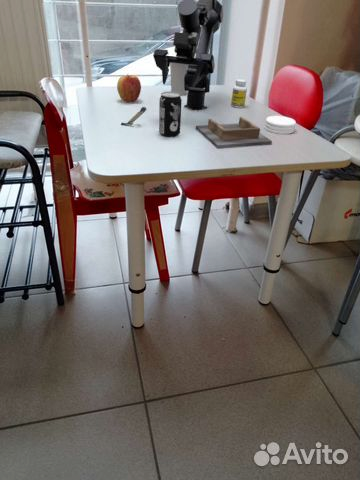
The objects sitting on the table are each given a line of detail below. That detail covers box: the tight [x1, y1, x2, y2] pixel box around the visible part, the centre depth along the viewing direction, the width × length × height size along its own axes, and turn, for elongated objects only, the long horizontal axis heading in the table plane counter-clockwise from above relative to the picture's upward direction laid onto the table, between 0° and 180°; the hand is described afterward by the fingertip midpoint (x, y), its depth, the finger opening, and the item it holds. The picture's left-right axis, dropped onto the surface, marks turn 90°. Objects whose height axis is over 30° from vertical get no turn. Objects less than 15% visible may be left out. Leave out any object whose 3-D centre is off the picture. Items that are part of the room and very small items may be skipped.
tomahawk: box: [120, 106, 147, 128], centre depth 125 cm, size 21×7×1 cm, turn 166°
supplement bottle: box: [230, 78, 248, 109], centre depth 140 cm, size 5×5×10 cm
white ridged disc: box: [264, 115, 297, 135], centre depth 120 cm, size 10×10×4 cm
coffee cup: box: [169, 53, 188, 97], centre depth 151 cm, size 10×10×15 cm
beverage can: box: [158, 91, 183, 138], centre depth 108 cm, size 7×7×12 cm
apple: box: [116, 73, 142, 103], centre depth 138 cm, size 9×9×10 cm
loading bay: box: [195, 116, 273, 149], centre depth 112 cm, size 18×18×4 cm
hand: (177, 85), depth 110 cm, fingers open, 9 cm apart
